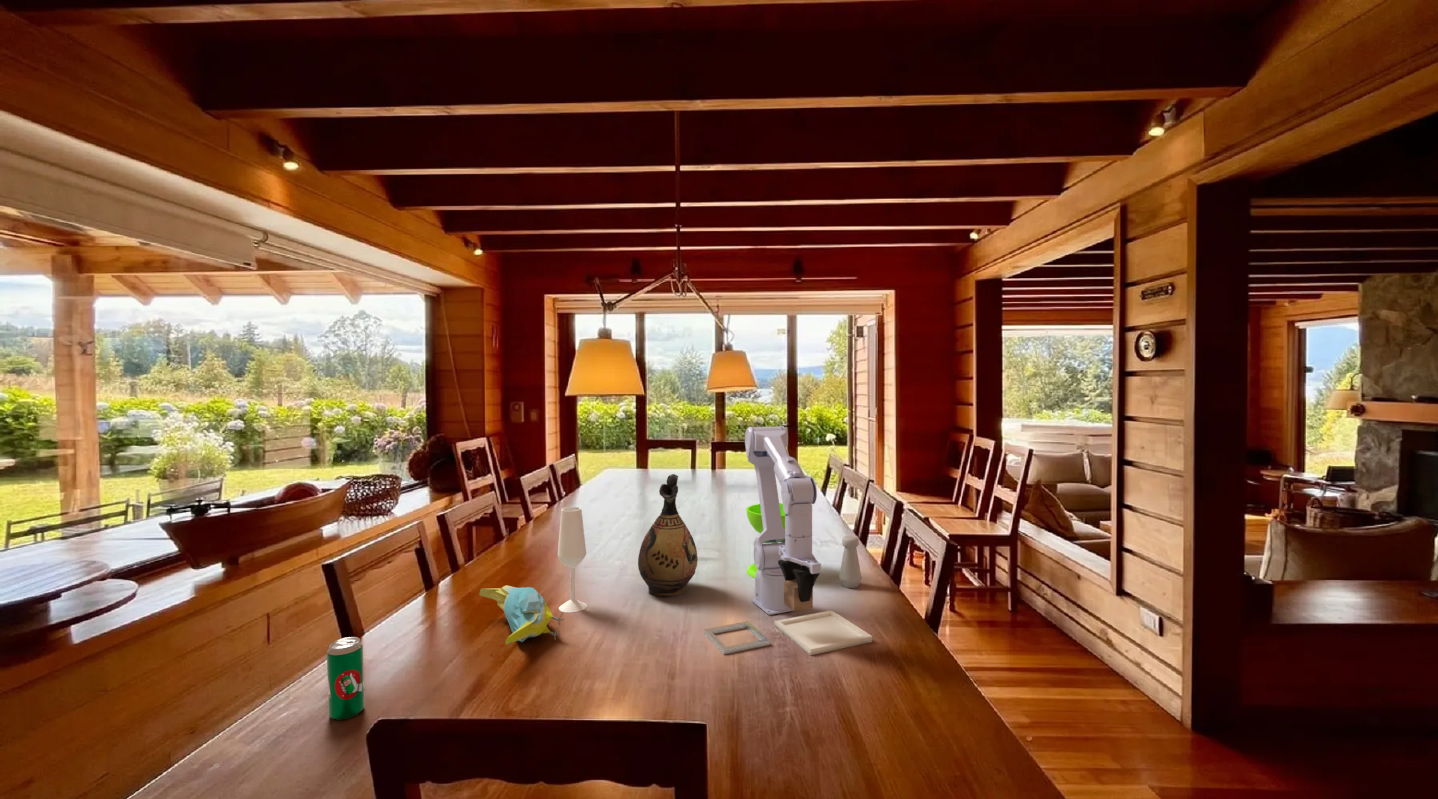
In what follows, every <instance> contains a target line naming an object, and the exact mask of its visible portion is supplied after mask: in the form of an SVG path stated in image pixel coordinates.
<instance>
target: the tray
mask: <svg viewBox="0 0 1438 799" xmlns="http://www.w3.org/2000/svg"><path fill="white" fill-rule="evenodd" d="M774 628H776V629H777V630H779V631H780V632H781V633H782V634H783V635H785V636H786V637H787V638H789V640H791V641H792V642H793V643H794V644H795V645H797V646H798V647H800V648H801V649H802V650H803V651H805V653H807V654H808V655H810V656H814V655H819V654H823V653H827V652H832V651H837V650H841V649H845V648H851V647H856V646H859V645H864V644H869V643H873V635H871V634H869V633H868V632H866V631H865V630H864V629H861V628H860V627H859V626H857V625H856V624H854V623H852V622H851V621H849V620H848V619H846V618H844V617H843V616H842V615H840V614H838V613H837V612H835V611H833V610H832V609H831V610H826V611H820V612H816V613H810V614H805V615H799V616H795V617H789V618H784V619H778V620H774Z"/></svg>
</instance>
